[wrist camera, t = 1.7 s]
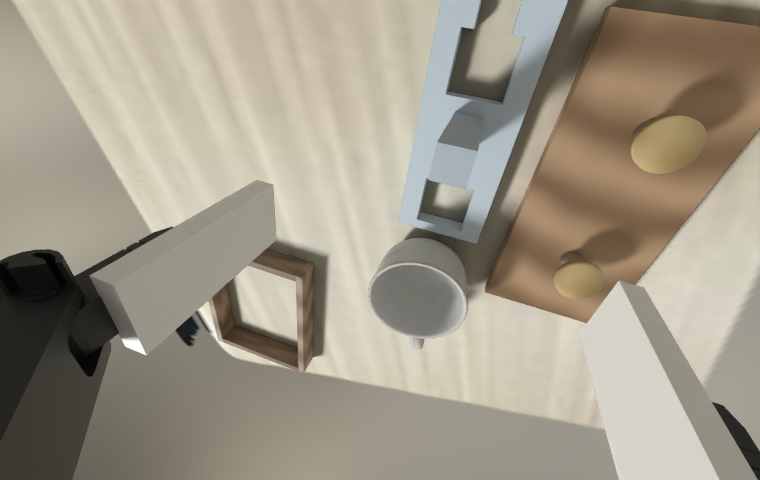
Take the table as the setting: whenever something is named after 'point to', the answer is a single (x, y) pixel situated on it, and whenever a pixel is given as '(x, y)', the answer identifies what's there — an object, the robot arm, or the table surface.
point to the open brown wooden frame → (261, 344)
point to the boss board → (629, 156)
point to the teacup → (420, 290)
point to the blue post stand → (472, 117)
